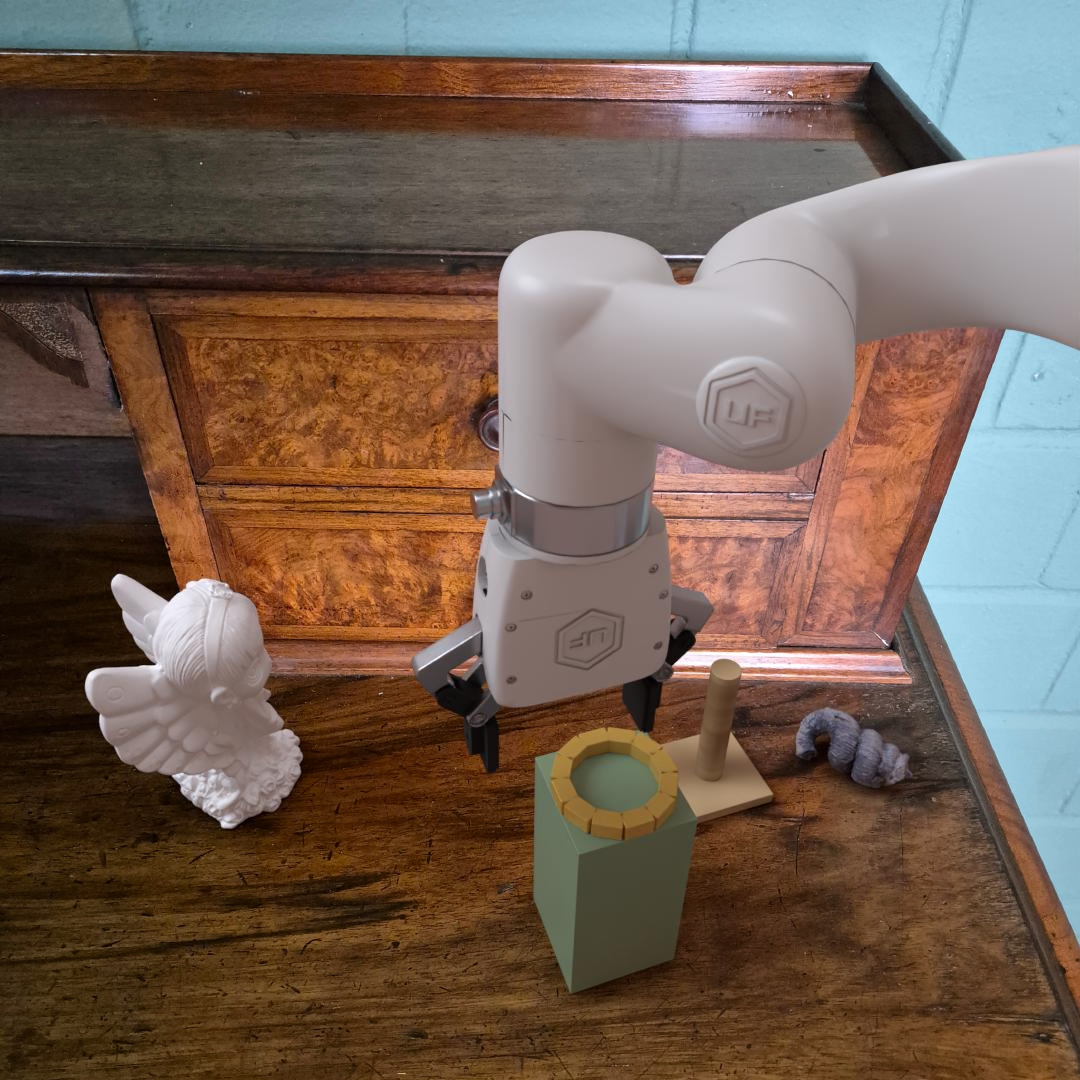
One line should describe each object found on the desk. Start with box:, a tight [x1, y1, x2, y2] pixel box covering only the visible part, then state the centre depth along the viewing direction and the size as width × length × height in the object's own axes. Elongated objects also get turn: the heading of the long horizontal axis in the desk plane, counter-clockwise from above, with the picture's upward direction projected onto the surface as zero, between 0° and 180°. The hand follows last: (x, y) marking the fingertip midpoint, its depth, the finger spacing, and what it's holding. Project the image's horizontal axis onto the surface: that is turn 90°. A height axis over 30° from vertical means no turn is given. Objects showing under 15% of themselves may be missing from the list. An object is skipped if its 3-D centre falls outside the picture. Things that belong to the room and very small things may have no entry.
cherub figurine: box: [84, 573, 304, 830], centre depth 75 cm, size 13×12×20 cm
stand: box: [532, 729, 698, 995], centre depth 66 cm, size 8×8×16 cm
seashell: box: [795, 706, 914, 789], centre depth 82 cm, size 5×5×10 cm
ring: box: [550, 726, 679, 840], centre depth 61 cm, size 8×8×1 cm
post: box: [661, 658, 774, 825], centre depth 78 cm, size 8×8×13 cm
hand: (562, 735), depth 57 cm, fingers open, 9 cm apart
